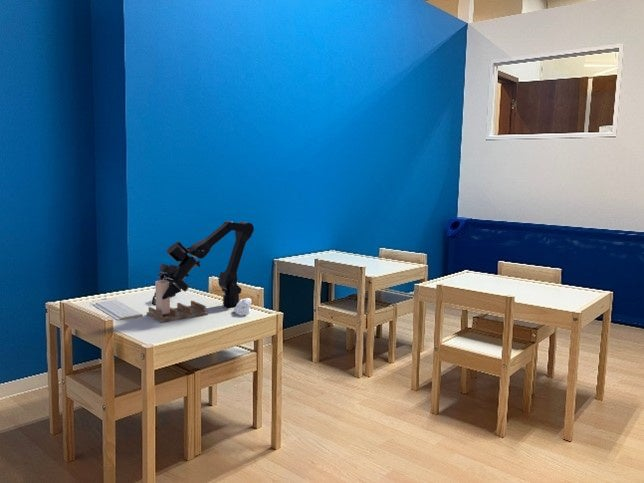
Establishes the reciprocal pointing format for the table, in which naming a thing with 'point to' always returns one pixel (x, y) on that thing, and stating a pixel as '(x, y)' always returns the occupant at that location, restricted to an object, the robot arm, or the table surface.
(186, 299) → the table surface
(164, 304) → the pinkish tan block
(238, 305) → the baby figurine
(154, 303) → the decorative element
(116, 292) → the table surface
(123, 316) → the baseboard molding
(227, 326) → the table surface
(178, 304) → the drying rack
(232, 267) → the robot arm
